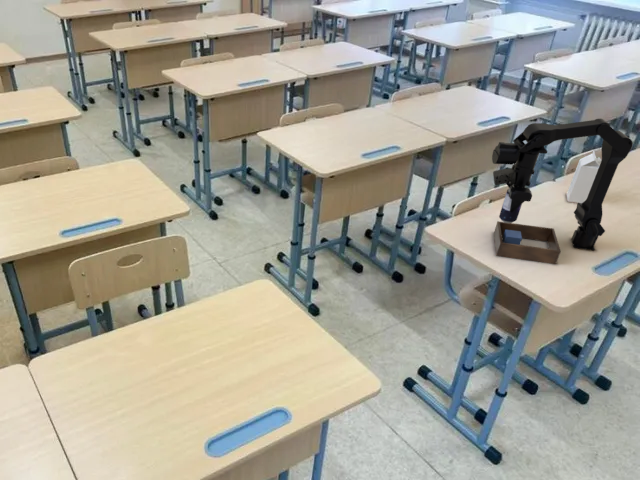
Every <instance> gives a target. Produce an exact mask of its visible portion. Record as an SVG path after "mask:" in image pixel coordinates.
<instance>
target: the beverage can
mask: <svg viewBox="0 0 640 480" xmlns="http://www.w3.org/2000/svg"><path fill="white" fill-rule="evenodd" d="M511 188H513V185H512V186H510V187H508V188H507V189H506V192H505V196H504V200H503V202H502V206H501V209H500V212H499V215H498V217H499V219H500V220H501V222H505V223H515V222H516V221H517V220H518V218H519V214H520V211H521V208H522V205H523V203H522V204H521V205H520V206H519V207H518V208H517V209H516V210H515V211H514V212H510V205H511V199H510V197H509V194H508V193H509V192H510V189H511Z"/></svg>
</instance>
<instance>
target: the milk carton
mask: <svg viewBox="0 0 640 480" xmlns="http://www.w3.org/2000/svg"><path fill="white" fill-rule="evenodd" d="M601 161H602V157H597V156H596V152H595V150H593V151H592V153H590V154H588V155H586V156H584V157H582V158H580V159H579V161H578V163H577V166H576V169H575V171H574V173H573V176H572V179H571V181H570V183H569V186H568V189H567V192H566V201H567V202H569V203H576V204H578V203H583V202H584V201H585V200H586V199H587V197H588V194H589V192H590V189H591V187H592V184H593V181H594V179H595V176H596V174H597V171H598V169H599V166H600V163H601Z"/></svg>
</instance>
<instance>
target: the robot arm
mask: <svg viewBox="0 0 640 480" xmlns="http://www.w3.org/2000/svg"><path fill="white" fill-rule="evenodd" d="M593 136H599V137H600V138H601V139H602V144H601V160H602V161H601V163H600V166H599V169H598V171H597V174H596V176H595V179H594V181H593V184H592V187H591V189H590V192H589V194H588V197H587V199H586V200H585V201H584V202H583V203H576V208H575V210H574V211H573V214H574V218H575V219H576V222H577V224H578V226H577V228H576V229H575V230H574V231H573V234H572V236H571V238H570V242H571V243H572V245H573V248H574V249H579V250H588V251H595V250H596V248H595V245H596V242H597V240H598V239H599V237H601V236H603V235H604V234H605V232H606V230H605V229H604V227H603V226H602V224H601V223H602V220H603V219H602V218H603V203H604V201H605V198H606V196H607V193H608V191H609V188H610V186H611V183H612V182H613V181H612V180H613V179H614V176H615V174H616V171H617V168H618V166H619V164H620V163H621V162H623V161H624V160H625V159H626V158H627V157H628V155H629V154H630V152H631V150H632V149H633V145H634V143H633V140H632V139H631V138H630V137H629V136H627V135H626V134H625V133H624V132H622V131H621V130H615V129H614V128H612V126H611V125H610V123H609V122H607V121H606V120H605V119H604V118H596V119H591V120H585V121H576V122H567V123H562V124H549V123H544V122H543V123H540V122H533V123H530V124H528V125H527V126H526V127H525V128H524V130H523V131H522V132H521V133H520V134H519V135H517V136H516V137H515V138H514V139H513V140H512V142H505V141H499V142H498V143H497V145H496V146H495V148H494V149H493V151H492V154H491V161H492V164H494V165H512V166H511V167H510V168H502V169H497V170H493V172H492V176H493V183H494V185H495V186H499V185H504V184H506V186H507V187H508V188H509V187H510V186H512V185H513V188H511V189H510V192H509V193H508V194H509V197H510V199H511V205H510V212H514V211H515V210H516V209H517V208H518V207H519V206H520V205H521V204H522V205H523V204H524V203H525V202H531V200H532V197H533V193H532V190H531V189H530V187H531V178H532V175H534V174H535V167H536V164H537V161H538V158H539V156H540V154H548V150H547V149H546V148H545V147H546V146H548V145H549V146H550V145H552V143H554V142H557V141H563V140H569V139H577V138H578V139H579V138H586V137H593ZM525 142H526V143H525ZM528 187H529V188H528ZM522 205H521V206H522Z"/></svg>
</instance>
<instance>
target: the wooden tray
mask: <svg viewBox="0 0 640 480" xmlns="http://www.w3.org/2000/svg"><path fill="white" fill-rule="evenodd" d="M505 229H506V230H514V231H521V236H522V239H526V240H534V241H539V242H540V241H541V242H547V243H546V244H547V246H548V248H547V247H539V246H531V245H523V244H520V245H517V244H510V243H503V241H502V238H503V235H504V232H505ZM493 240H494V248H495V255H496V257H502V258H510V259H516V260H524V261H530V262H531V261H532V262H538V263H544V264H552V265H556V264H557V262H558V259H559V257H560V254H561V247H560V244H559V240H558V237H557V233H556V230H555V228H554V227H553V228H551V227H546V226H545V227H544V226H538V225H529V224H521V223H515V222H513V223H505V222H503V221H498V220H497V222H496V225H495V227H494V230H493Z"/></svg>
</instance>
